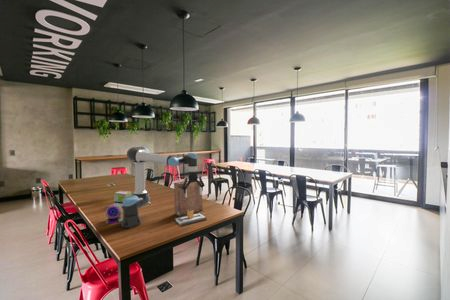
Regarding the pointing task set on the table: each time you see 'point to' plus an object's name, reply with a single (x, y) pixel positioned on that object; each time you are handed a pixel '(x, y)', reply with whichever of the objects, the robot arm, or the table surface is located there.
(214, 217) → the table surface
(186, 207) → the book
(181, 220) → the panel
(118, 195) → the tea box
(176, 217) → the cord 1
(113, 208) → the webcam
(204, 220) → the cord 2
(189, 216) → the lever
